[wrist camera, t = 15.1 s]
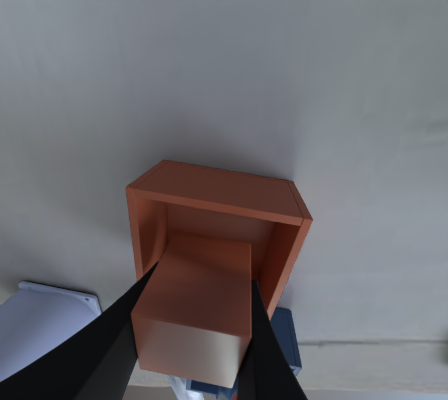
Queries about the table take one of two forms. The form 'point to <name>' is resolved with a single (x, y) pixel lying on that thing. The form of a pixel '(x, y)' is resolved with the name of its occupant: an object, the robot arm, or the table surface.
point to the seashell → (183, 389)
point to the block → (196, 310)
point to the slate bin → (287, 341)
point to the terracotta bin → (220, 218)
